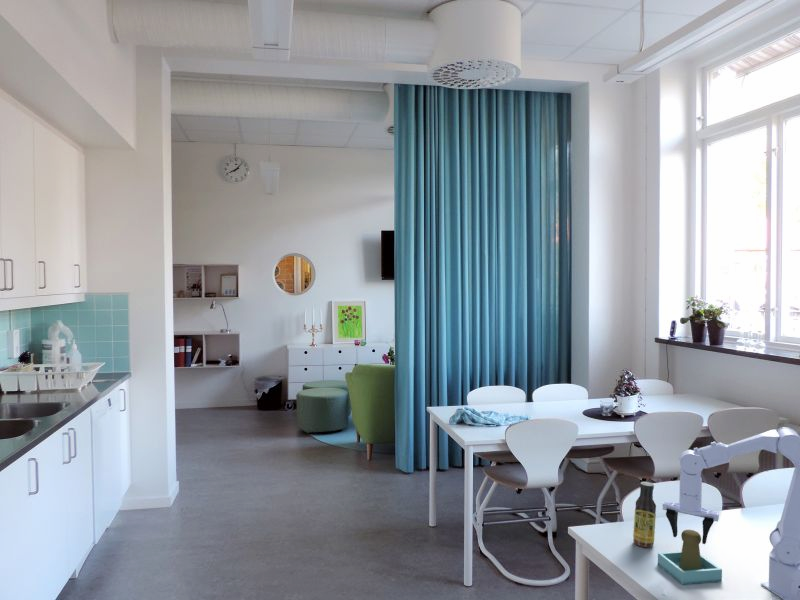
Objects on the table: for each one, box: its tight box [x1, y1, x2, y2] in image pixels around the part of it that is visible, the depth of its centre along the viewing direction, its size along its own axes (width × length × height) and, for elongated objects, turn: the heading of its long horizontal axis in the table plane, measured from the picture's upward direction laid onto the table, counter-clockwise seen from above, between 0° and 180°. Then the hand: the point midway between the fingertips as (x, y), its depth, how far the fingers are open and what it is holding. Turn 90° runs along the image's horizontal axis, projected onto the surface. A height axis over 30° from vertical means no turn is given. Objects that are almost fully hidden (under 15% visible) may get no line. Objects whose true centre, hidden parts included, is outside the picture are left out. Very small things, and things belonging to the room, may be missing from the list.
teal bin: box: [657, 550, 723, 586], centre depth 172 cm, size 12×12×4 cm
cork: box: [679, 529, 702, 571], centre depth 173 cm, size 6×6×11 cm
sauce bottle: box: [632, 481, 657, 549], centre depth 190 cm, size 7×6×20 cm
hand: (689, 539), depth 172 cm, fingers open, 7 cm apart
